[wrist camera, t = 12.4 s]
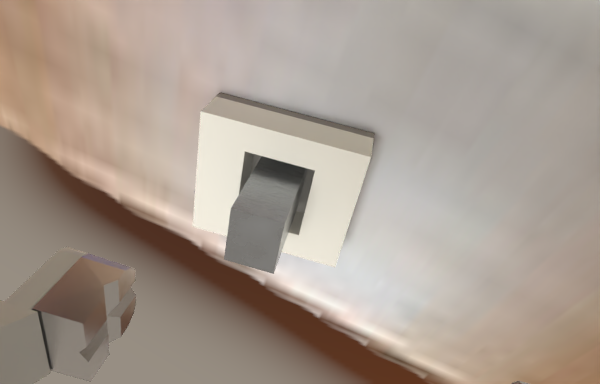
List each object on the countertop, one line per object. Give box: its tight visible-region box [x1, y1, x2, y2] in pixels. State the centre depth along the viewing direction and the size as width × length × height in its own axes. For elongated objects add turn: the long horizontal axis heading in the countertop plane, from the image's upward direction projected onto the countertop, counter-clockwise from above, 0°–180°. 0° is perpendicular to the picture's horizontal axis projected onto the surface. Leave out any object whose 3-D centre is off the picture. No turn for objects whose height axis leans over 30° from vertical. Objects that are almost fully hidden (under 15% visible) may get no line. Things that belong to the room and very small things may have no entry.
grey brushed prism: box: [224, 156, 307, 274], centre depth 36 cm, size 4×5×10 cm
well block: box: [193, 93, 374, 267], centre depth 40 cm, size 14×12×4 cm
